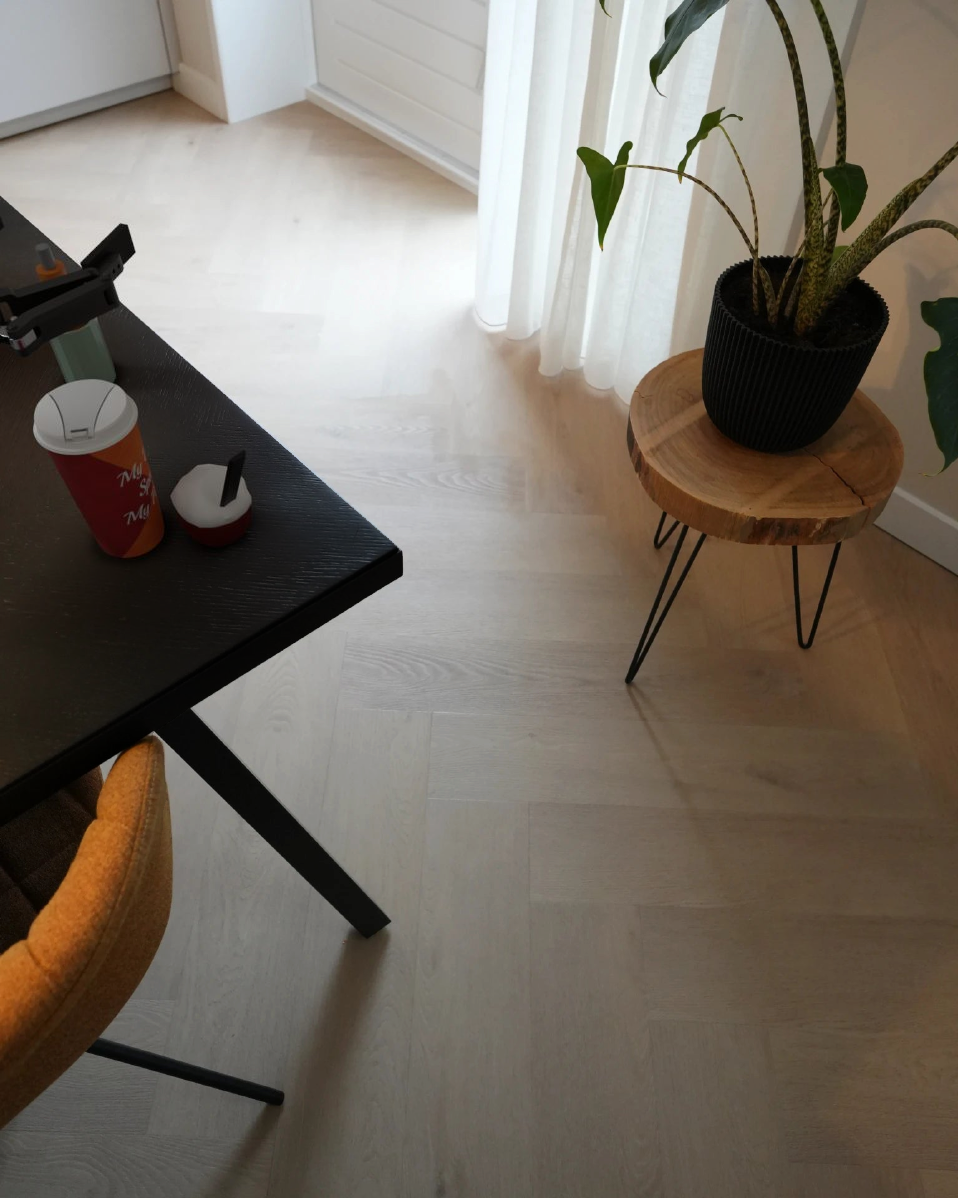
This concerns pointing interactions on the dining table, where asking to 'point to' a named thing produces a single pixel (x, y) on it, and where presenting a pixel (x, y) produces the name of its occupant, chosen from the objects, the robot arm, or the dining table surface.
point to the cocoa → (214, 502)
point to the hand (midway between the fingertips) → (61, 224)
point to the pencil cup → (84, 354)
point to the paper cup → (102, 463)
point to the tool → (49, 267)
